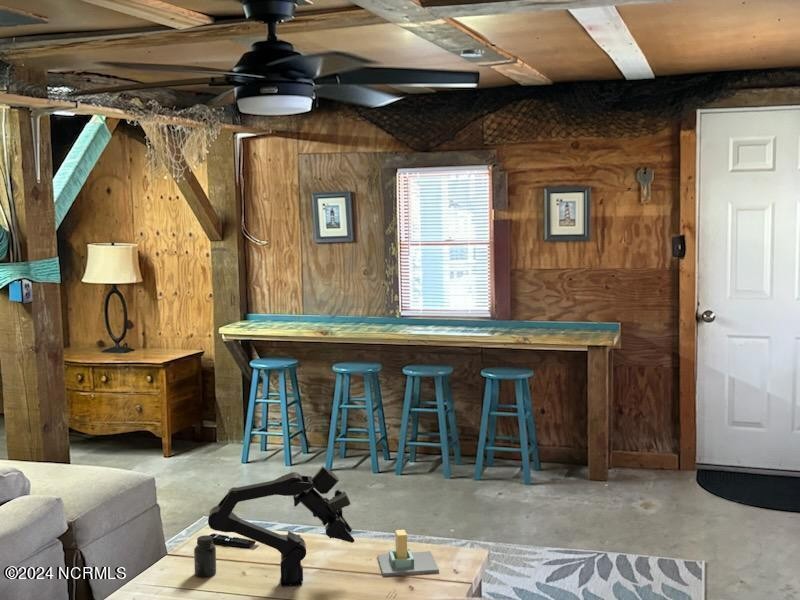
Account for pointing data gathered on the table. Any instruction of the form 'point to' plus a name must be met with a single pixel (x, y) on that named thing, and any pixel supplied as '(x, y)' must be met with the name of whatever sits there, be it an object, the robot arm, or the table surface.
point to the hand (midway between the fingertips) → (352, 536)
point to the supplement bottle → (205, 557)
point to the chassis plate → (407, 563)
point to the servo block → (401, 544)
